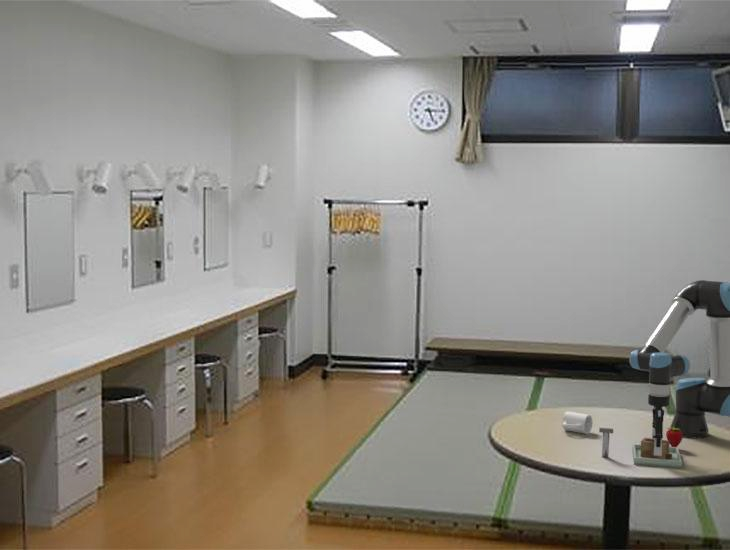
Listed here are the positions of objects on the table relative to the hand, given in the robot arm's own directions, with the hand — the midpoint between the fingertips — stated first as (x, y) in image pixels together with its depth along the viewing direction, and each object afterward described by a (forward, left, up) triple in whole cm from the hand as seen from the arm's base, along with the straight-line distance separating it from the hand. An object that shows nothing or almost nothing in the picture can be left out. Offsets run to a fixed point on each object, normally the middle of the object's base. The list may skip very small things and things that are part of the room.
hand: (656, 450), depth 352 cm
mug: (+30, -31, -4) cm, 44 cm away
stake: (+18, +3, -3) cm, 19 cm away
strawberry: (-8, -17, -3) cm, 19 cm away
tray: (0, 0, -3) cm, 3 cm away
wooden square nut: (+1, 0, -2) cm, 2 cm away
